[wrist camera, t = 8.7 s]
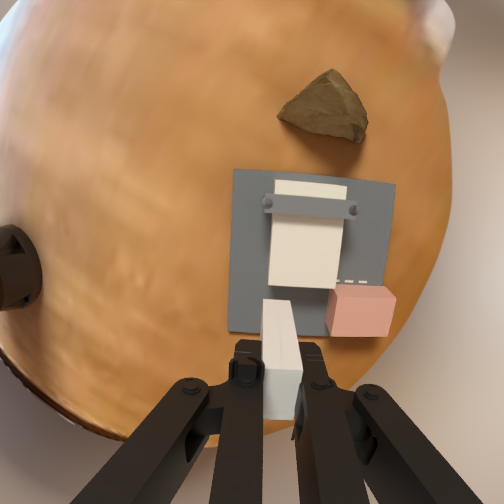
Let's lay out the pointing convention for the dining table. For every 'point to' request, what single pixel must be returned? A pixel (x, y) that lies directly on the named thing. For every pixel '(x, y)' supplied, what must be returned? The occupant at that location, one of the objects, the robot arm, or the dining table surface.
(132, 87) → the dining table surface
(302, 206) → the clamped cream block
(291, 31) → the dining table surface
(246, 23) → the dining table surface
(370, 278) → the mat
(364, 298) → the stub
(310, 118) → the rock
